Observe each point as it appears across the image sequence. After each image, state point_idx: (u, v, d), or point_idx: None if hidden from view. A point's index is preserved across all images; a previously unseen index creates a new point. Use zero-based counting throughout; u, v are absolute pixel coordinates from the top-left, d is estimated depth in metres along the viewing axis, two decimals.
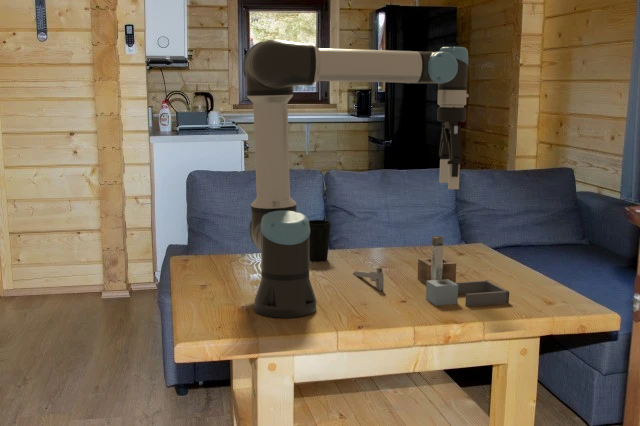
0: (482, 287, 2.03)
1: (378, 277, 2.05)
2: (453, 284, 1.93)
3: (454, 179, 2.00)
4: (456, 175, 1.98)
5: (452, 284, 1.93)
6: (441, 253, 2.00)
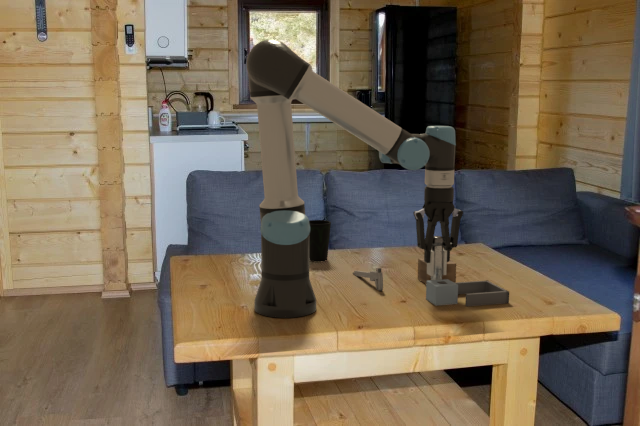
0: (482, 287, 2.03)
1: (377, 277, 2.05)
2: (453, 284, 1.93)
3: (429, 265, 2.01)
4: (425, 261, 2.00)
5: (452, 284, 1.93)
6: (441, 253, 2.00)
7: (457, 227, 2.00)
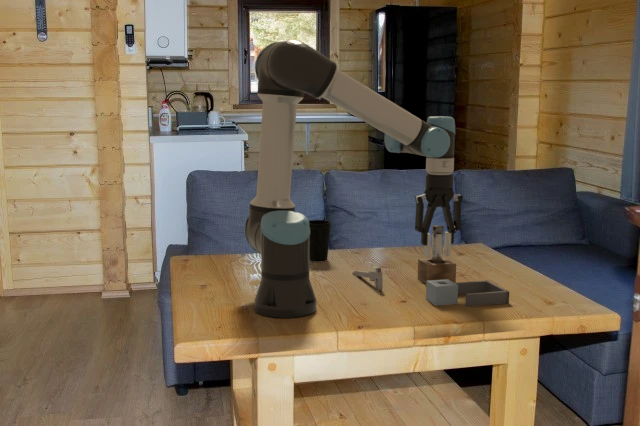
0: (482, 287, 2.03)
1: (377, 277, 2.05)
2: (453, 284, 1.93)
3: (426, 248, 2.12)
4: (422, 243, 2.12)
5: (452, 284, 1.93)
6: (441, 241, 2.12)
7: (459, 211, 2.12)
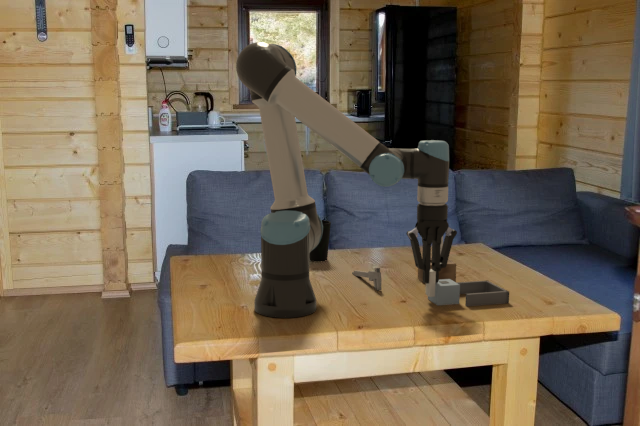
0: (482, 287, 2.03)
1: (376, 277, 2.05)
2: (455, 284, 1.93)
3: (428, 286, 1.93)
4: (424, 281, 1.92)
5: (454, 284, 1.93)
6: (441, 241, 2.12)
7: (449, 247, 1.92)
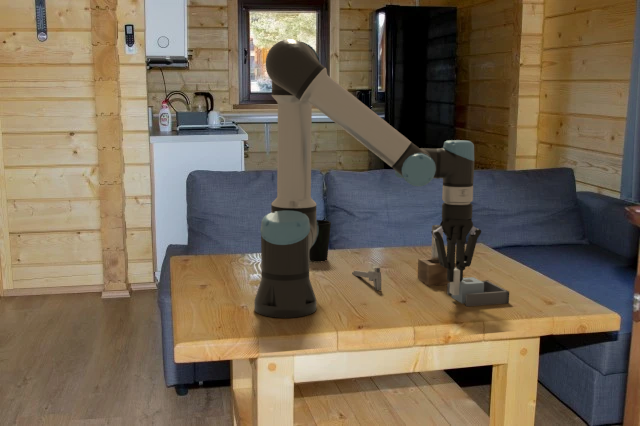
0: None
1: (376, 277, 2.05)
2: (479, 282, 1.95)
3: (452, 284, 1.95)
4: (448, 280, 1.94)
5: (478, 282, 1.94)
6: None
7: (473, 246, 1.93)
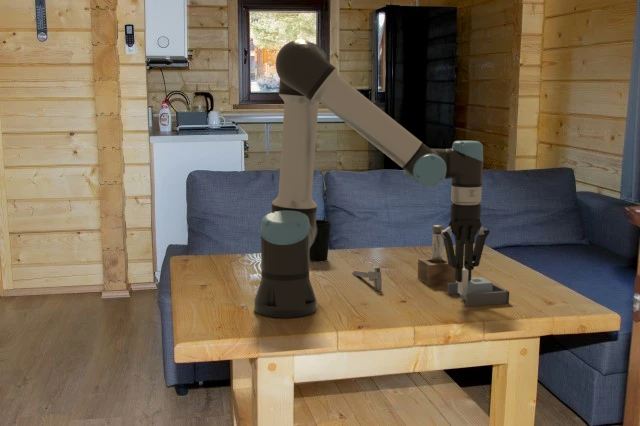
0: None
1: (376, 277, 2.05)
2: (487, 282, 1.95)
3: (460, 284, 1.95)
4: (457, 280, 1.95)
5: (486, 282, 1.95)
6: (441, 241, 2.12)
7: (481, 246, 1.94)
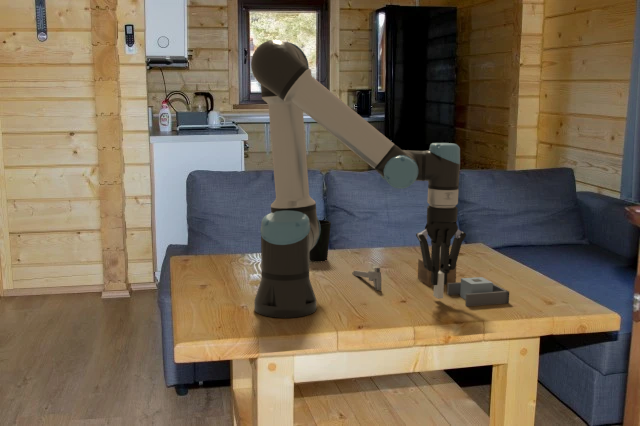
0: None
1: (376, 277, 2.05)
2: (488, 282, 1.95)
3: (436, 287, 1.94)
4: (432, 283, 1.93)
5: (487, 282, 1.95)
6: None
7: (457, 249, 1.93)
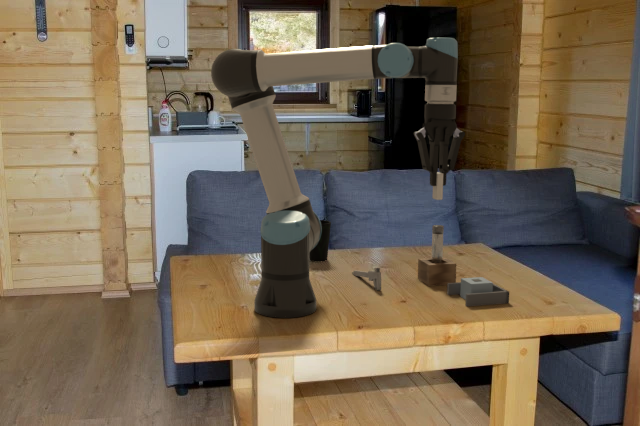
0: None
1: (376, 277, 2.05)
2: (488, 282, 1.95)
3: (435, 189, 1.89)
4: (431, 184, 1.89)
5: (487, 282, 1.95)
6: (441, 241, 2.12)
7: (456, 148, 1.88)
